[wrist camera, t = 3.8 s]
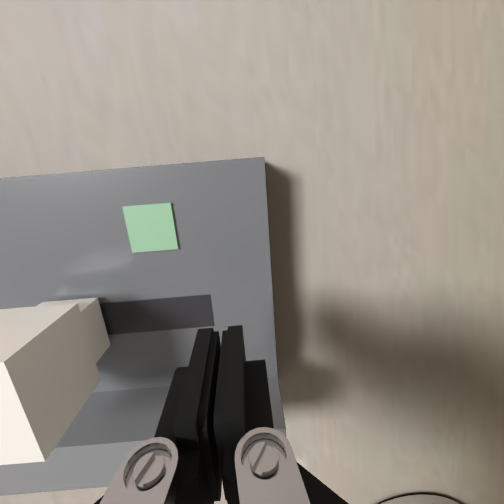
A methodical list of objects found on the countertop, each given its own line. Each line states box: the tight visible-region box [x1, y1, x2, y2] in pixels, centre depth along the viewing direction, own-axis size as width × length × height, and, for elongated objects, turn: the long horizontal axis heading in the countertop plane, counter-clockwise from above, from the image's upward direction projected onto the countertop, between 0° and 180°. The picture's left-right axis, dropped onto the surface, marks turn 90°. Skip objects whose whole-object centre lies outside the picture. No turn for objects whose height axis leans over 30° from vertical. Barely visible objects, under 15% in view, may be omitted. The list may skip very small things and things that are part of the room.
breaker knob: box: [0, 298, 110, 465], centre depth 12 cm, size 4×4×6 cm
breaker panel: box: [0, 157, 286, 496], centre depth 15 cm, size 22×16×6 cm
